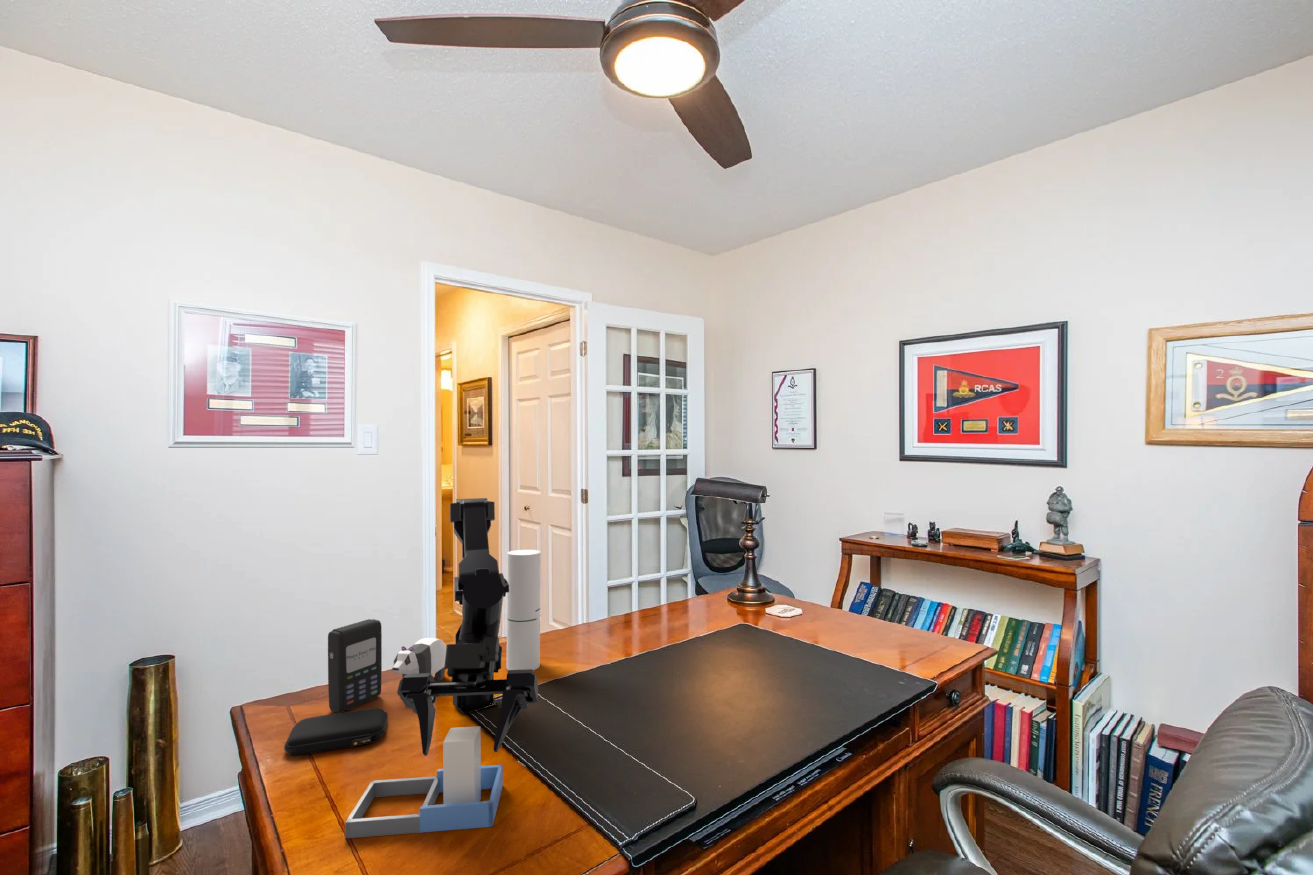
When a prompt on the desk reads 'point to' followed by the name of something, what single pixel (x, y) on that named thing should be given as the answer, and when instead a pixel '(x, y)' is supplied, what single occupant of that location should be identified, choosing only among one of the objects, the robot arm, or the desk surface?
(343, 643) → the card reader
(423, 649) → the giant panda
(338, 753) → the desk surface
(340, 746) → the carrying case or bag
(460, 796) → the white rectangular block
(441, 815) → the organizer
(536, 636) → the cylindrical container
